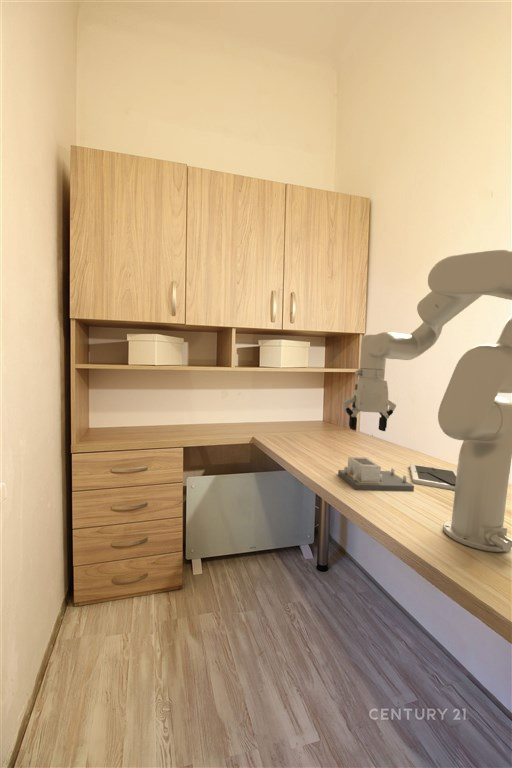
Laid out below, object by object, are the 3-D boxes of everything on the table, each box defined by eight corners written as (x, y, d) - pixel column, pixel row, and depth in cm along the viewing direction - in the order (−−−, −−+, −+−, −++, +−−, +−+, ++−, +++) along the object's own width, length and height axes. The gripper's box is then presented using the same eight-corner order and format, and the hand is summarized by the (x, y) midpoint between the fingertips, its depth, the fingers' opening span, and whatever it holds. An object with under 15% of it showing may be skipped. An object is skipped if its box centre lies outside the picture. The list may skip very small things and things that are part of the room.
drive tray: (413, 490, 106) (414, 479, 105) (356, 489, 103) (357, 478, 103) (389, 475, 119) (390, 465, 119) (338, 474, 117) (338, 464, 116)
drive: (379, 482, 106) (380, 466, 105) (360, 482, 105) (362, 465, 105) (364, 472, 116) (365, 457, 115) (347, 471, 115) (348, 456, 114)
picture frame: (468, 495, 107) (456, 476, 127) (469, 486, 107) (457, 468, 127) (412, 485, 113) (409, 468, 132) (413, 476, 113) (410, 461, 132)
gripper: (350, 373, 103) (345, 431, 104) (404, 377, 106) (399, 433, 107) (340, 373, 111) (336, 426, 112) (391, 376, 113) (387, 428, 114)
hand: (367, 429), depth 109 cm, fingers open, 9 cm apart
